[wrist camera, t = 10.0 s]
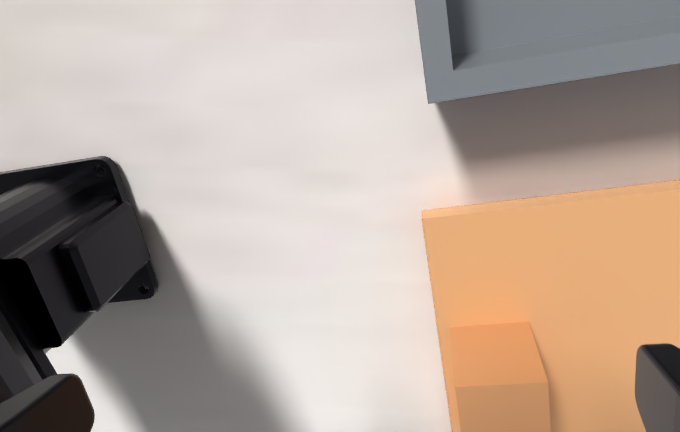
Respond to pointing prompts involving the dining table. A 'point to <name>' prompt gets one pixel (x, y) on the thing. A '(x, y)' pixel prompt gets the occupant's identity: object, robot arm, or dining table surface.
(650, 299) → the lid
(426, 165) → the dining table surface
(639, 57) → the tub
